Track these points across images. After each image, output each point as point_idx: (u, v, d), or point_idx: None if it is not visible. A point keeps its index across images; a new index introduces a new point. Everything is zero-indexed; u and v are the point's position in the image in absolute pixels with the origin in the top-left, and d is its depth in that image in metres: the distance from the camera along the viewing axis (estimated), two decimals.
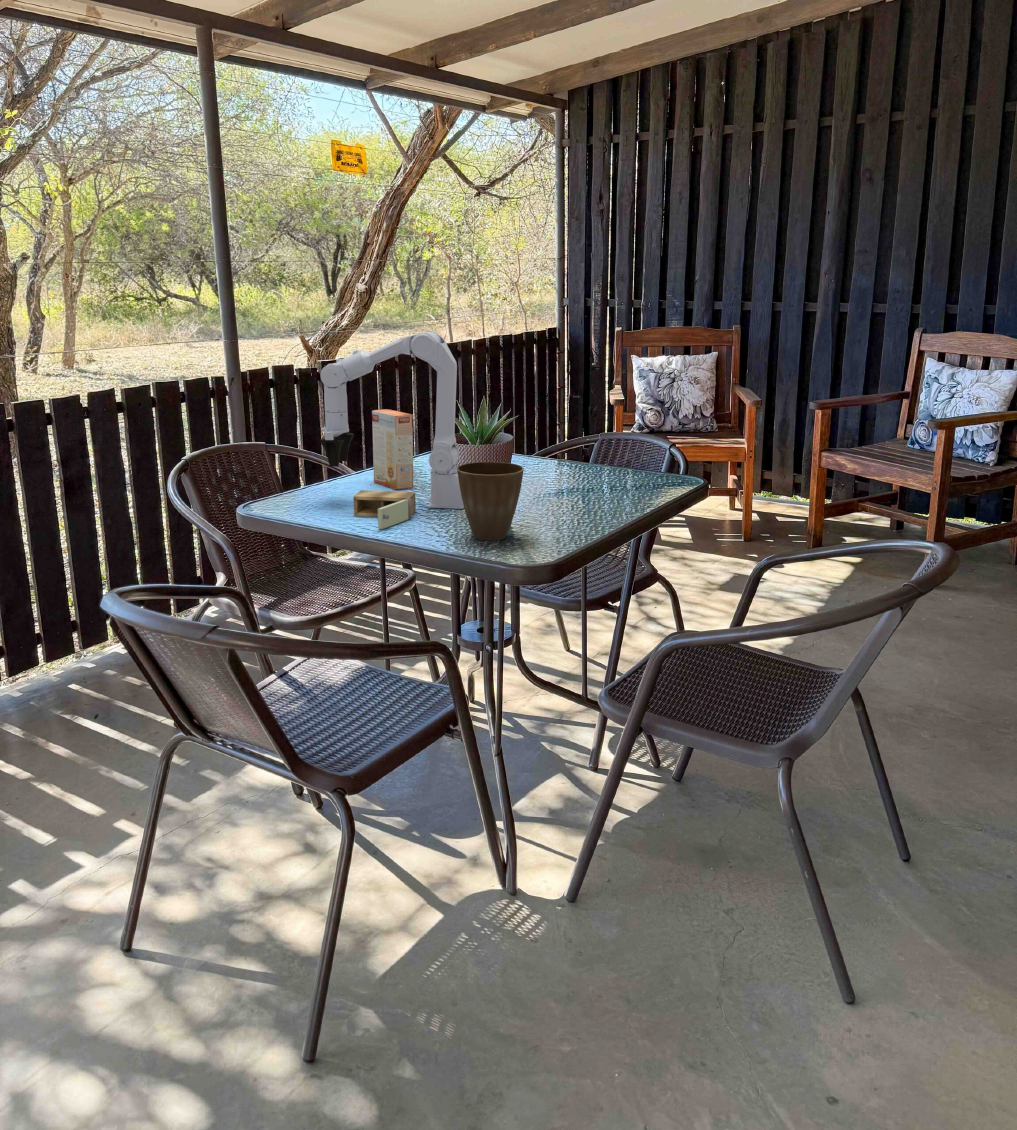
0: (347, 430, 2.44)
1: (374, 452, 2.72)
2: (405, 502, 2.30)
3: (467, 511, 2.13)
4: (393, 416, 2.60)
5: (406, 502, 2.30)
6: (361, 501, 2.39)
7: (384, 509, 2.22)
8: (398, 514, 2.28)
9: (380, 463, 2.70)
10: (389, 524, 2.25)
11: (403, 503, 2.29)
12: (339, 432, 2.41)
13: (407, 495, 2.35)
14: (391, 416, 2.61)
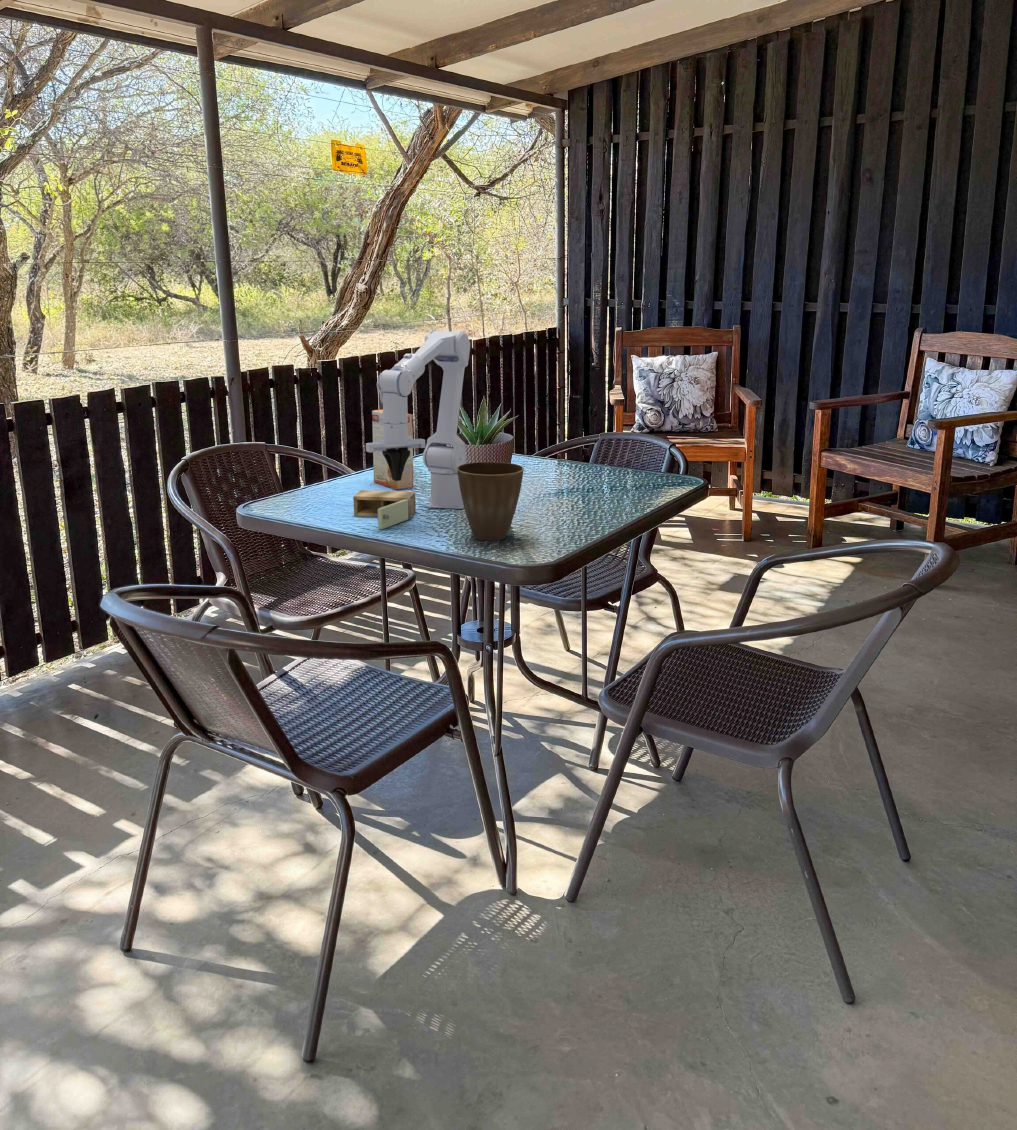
0: (399, 444, 2.21)
1: (374, 452, 2.72)
2: (405, 502, 2.30)
3: (467, 511, 2.13)
4: None
5: (406, 502, 2.30)
6: (361, 501, 2.39)
7: (384, 509, 2.22)
8: (398, 514, 2.28)
9: (380, 463, 2.70)
10: (389, 524, 2.25)
11: (403, 503, 2.29)
12: (384, 445, 2.20)
13: (407, 495, 2.35)
14: None
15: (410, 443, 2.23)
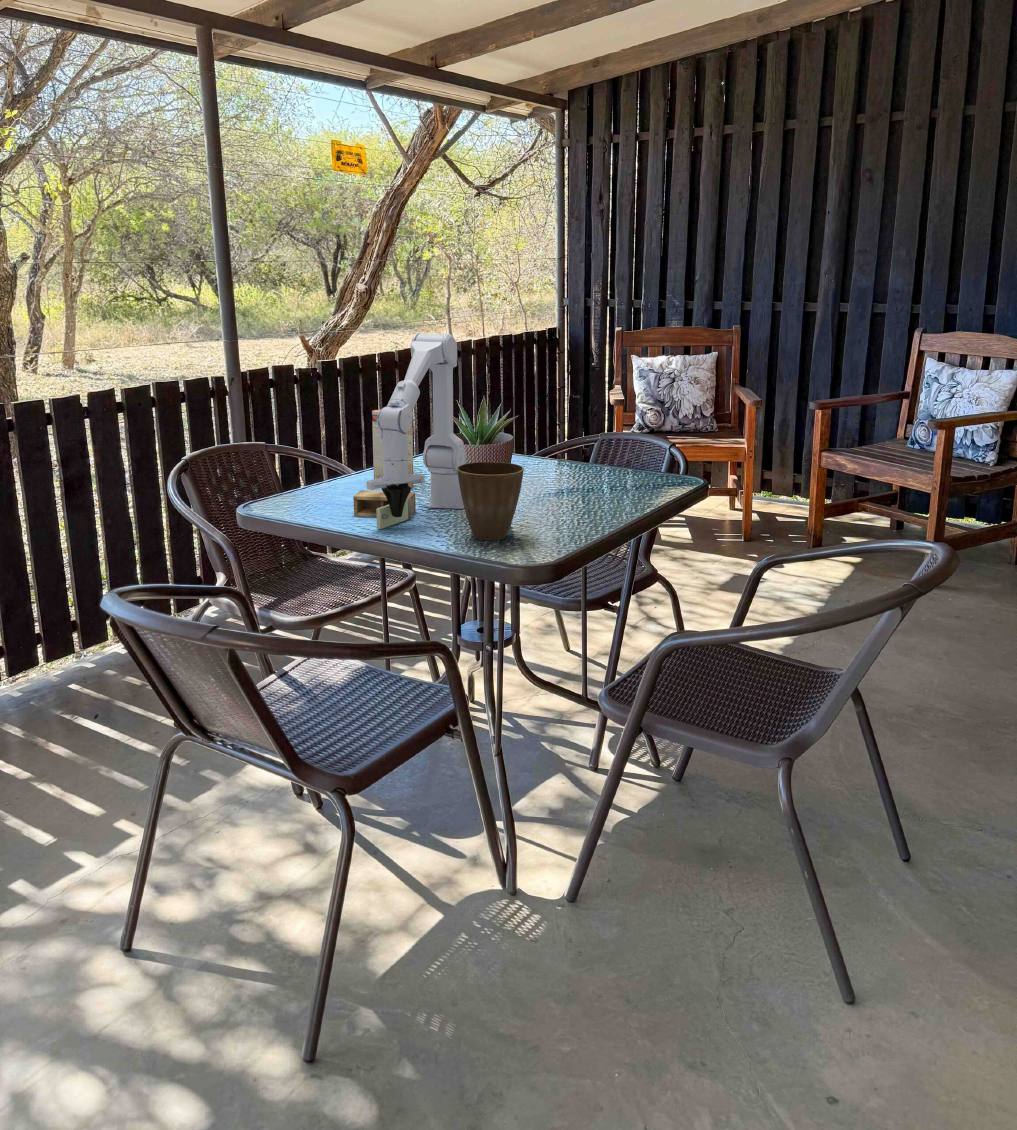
0: (400, 481, 2.19)
1: (374, 452, 2.72)
2: (405, 502, 2.30)
3: (467, 511, 2.13)
4: None
5: (406, 502, 2.30)
6: (361, 501, 2.39)
7: (383, 509, 2.22)
8: None
9: (380, 463, 2.70)
10: (388, 524, 2.25)
11: None
12: (385, 482, 2.18)
13: None
14: None
15: (410, 479, 2.22)
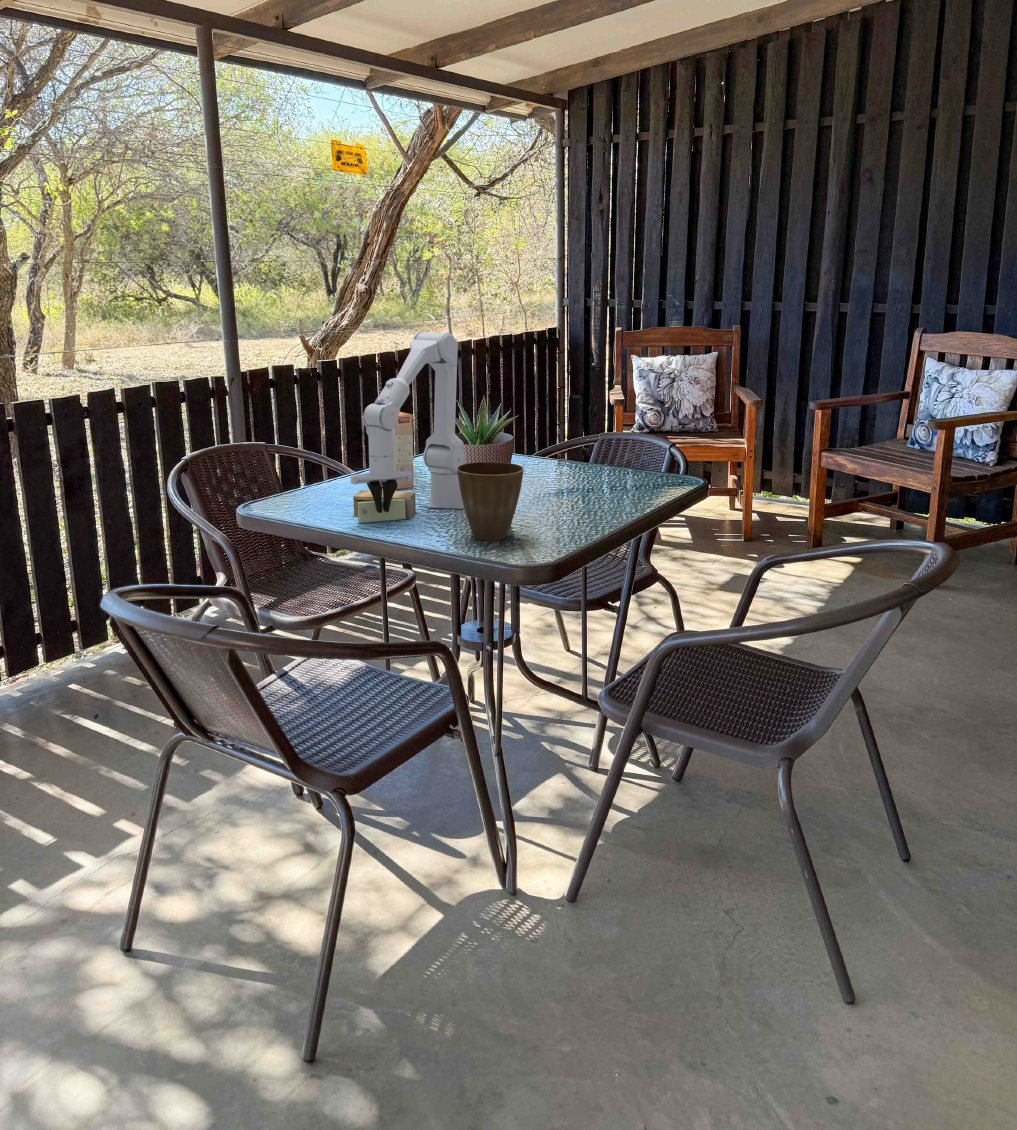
0: (382, 477, 2.23)
1: None
2: (400, 501, 2.31)
3: (467, 511, 2.13)
4: None
5: (401, 502, 2.31)
6: (361, 501, 2.39)
7: (364, 504, 2.27)
8: None
9: None
10: (372, 519, 2.29)
11: (396, 502, 2.30)
12: (367, 478, 2.23)
13: (407, 495, 2.35)
14: None
15: (395, 476, 2.25)
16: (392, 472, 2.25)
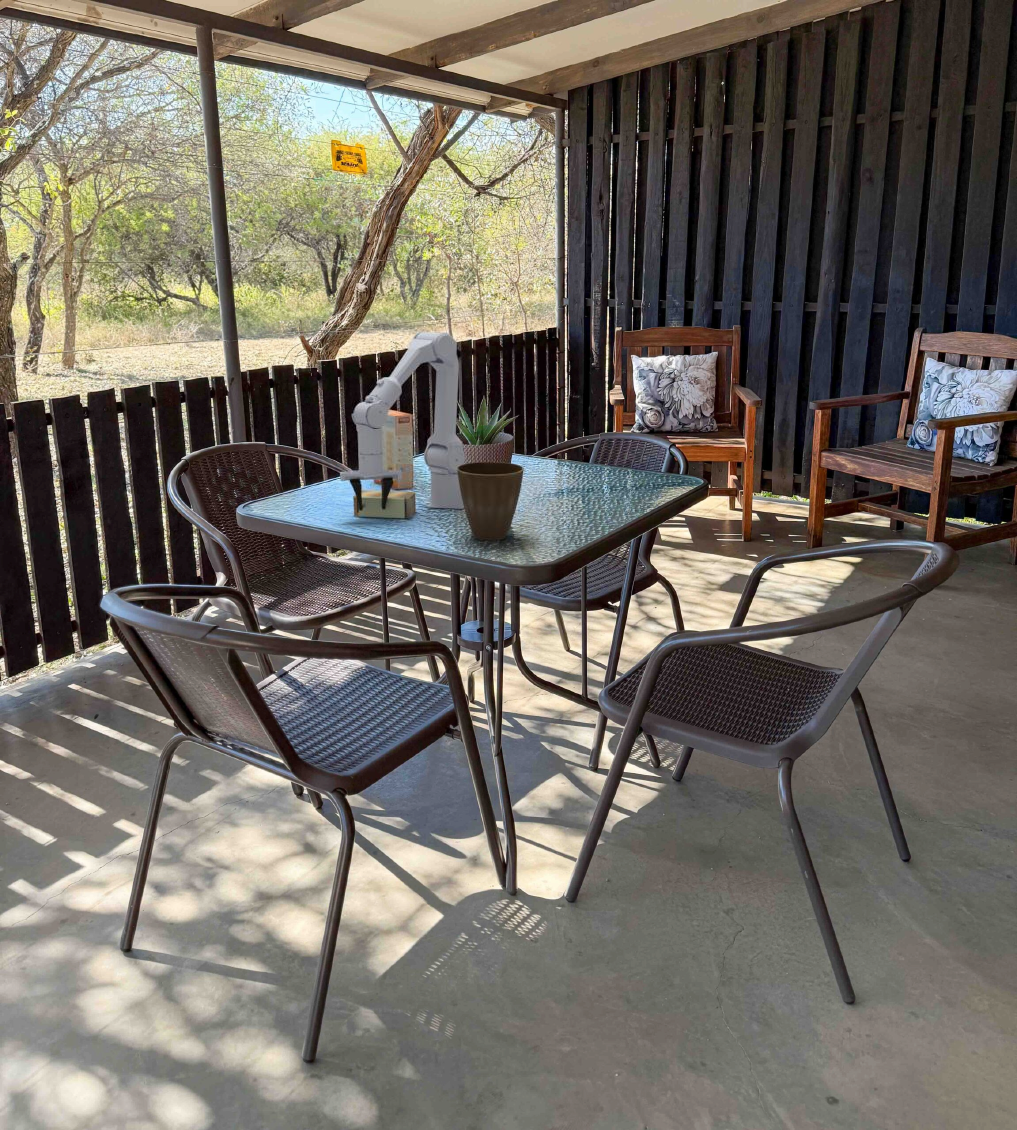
0: (369, 475, 2.26)
1: None
2: (399, 500, 2.32)
3: (467, 511, 2.13)
4: (393, 416, 2.60)
5: (400, 501, 2.32)
6: None
7: (363, 498, 2.33)
8: (386, 509, 2.33)
9: None
10: (371, 515, 2.34)
11: (395, 501, 2.32)
12: (355, 475, 2.26)
13: (407, 495, 2.35)
14: (391, 416, 2.61)
15: (383, 474, 2.27)
16: (380, 470, 2.27)
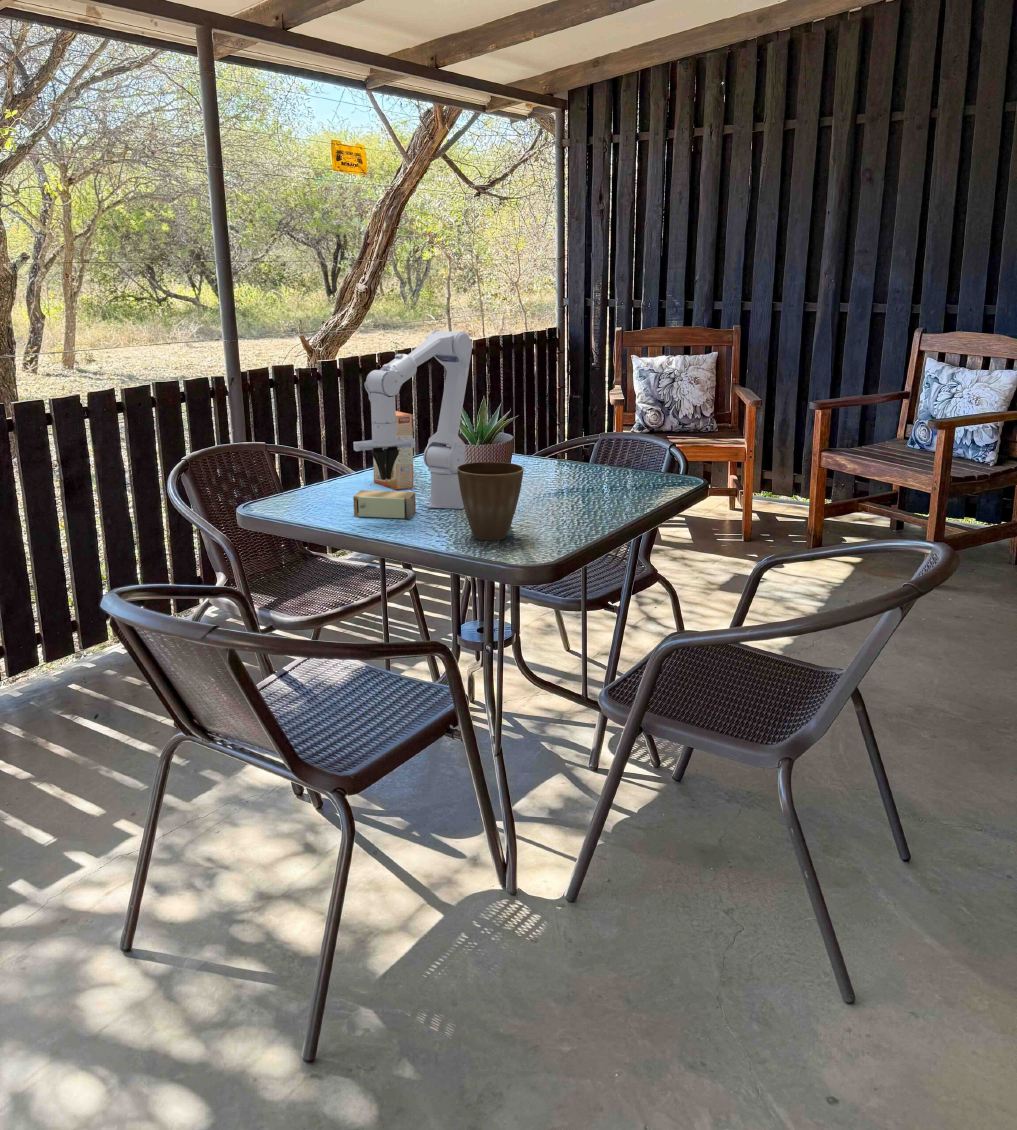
0: (385, 444, 2.23)
1: None
2: (399, 500, 2.32)
3: (467, 511, 2.13)
4: None
5: (400, 501, 2.32)
6: None
7: (363, 498, 2.33)
8: (386, 509, 2.33)
9: None
10: (371, 515, 2.34)
11: (395, 501, 2.32)
12: (370, 444, 2.23)
13: (407, 495, 2.35)
14: None
15: (397, 443, 2.25)
16: (395, 439, 2.25)
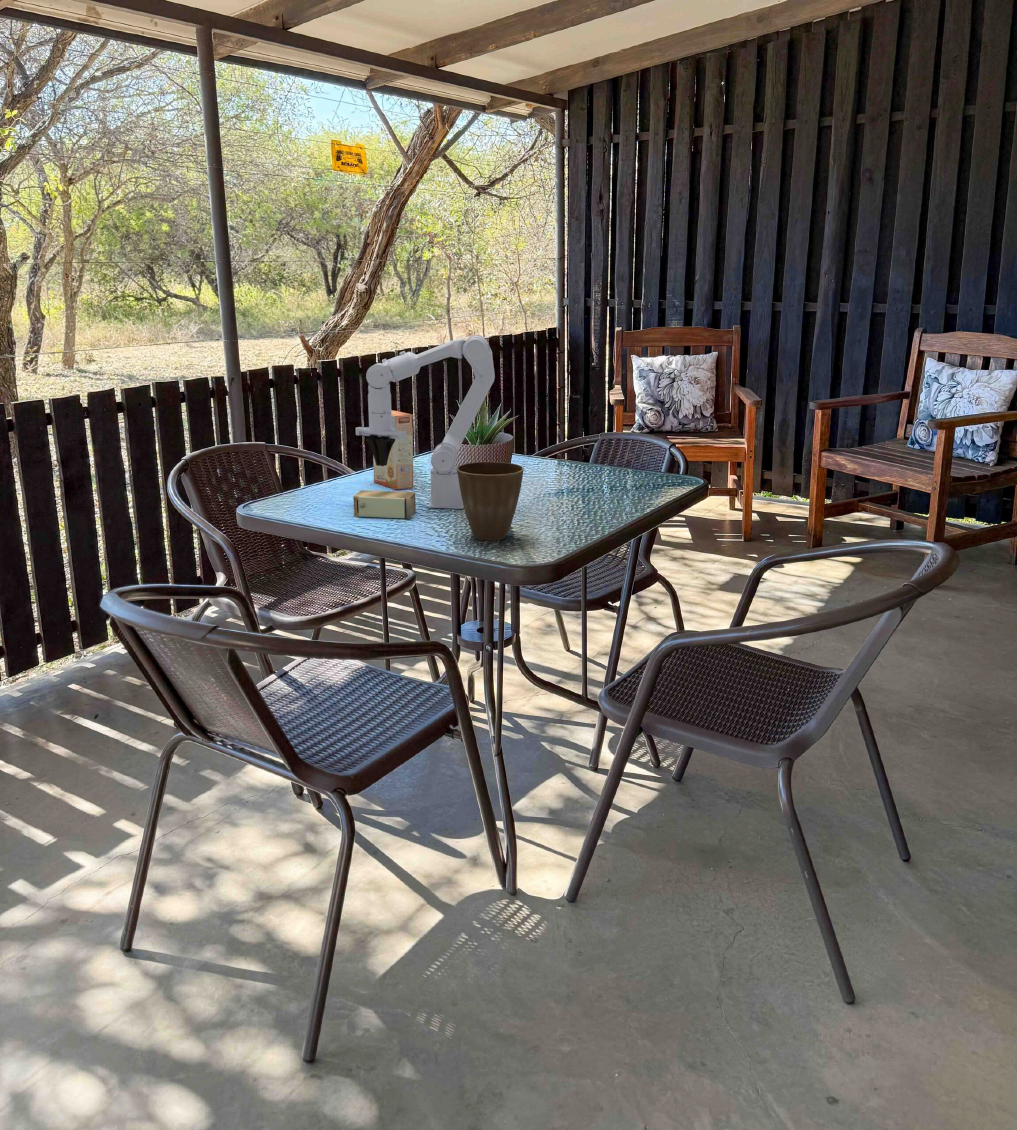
0: (371, 432, 2.40)
1: None
2: (399, 500, 2.32)
3: (467, 511, 2.13)
4: (393, 416, 2.60)
5: (400, 501, 2.32)
6: None
7: (363, 498, 2.33)
8: (386, 509, 2.33)
9: None
10: (371, 515, 2.34)
11: (395, 501, 2.32)
12: (363, 430, 2.42)
13: (407, 495, 2.35)
14: None
15: (383, 433, 2.39)
16: (382, 429, 2.39)
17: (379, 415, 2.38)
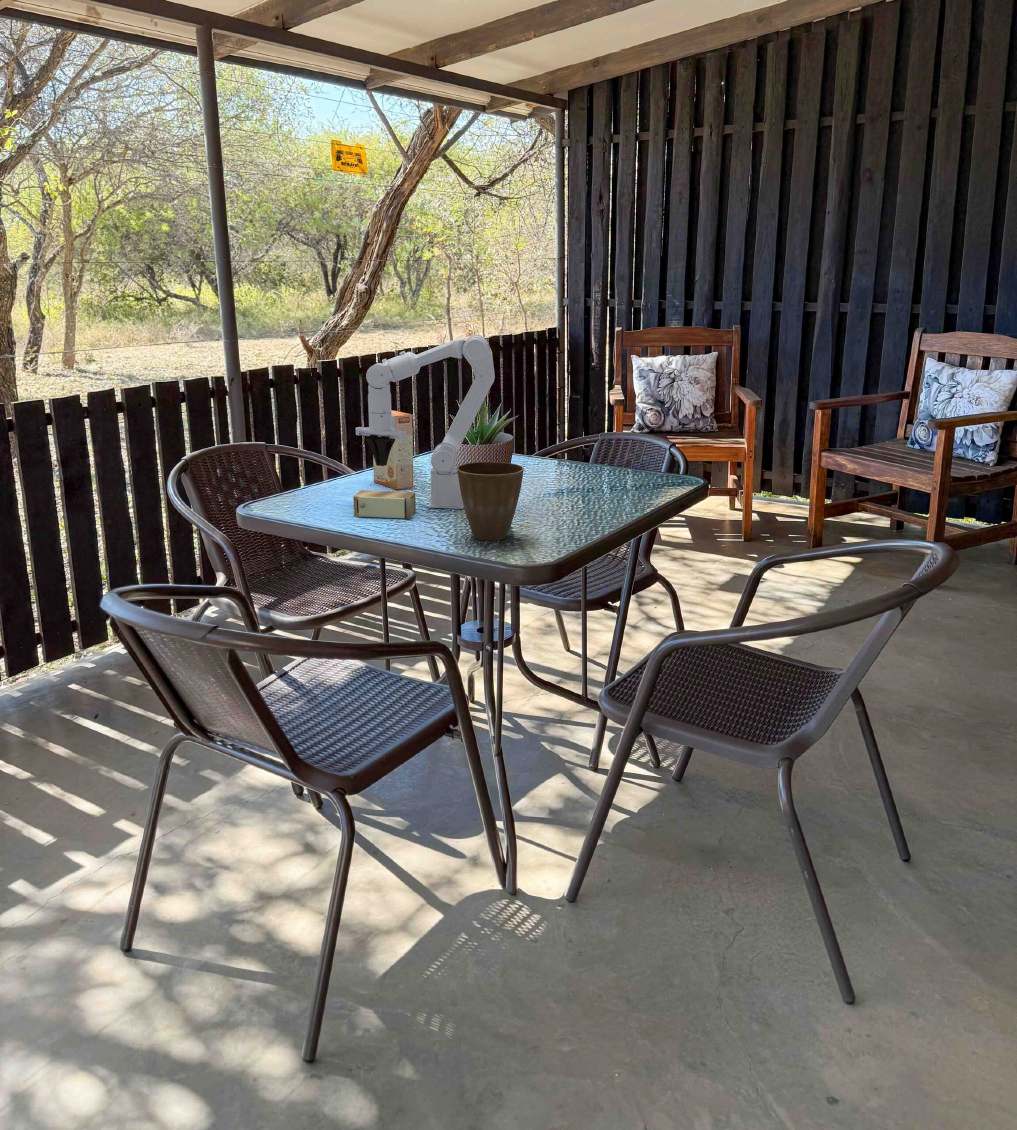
0: (371, 432, 2.40)
1: None
2: (399, 500, 2.32)
3: (467, 511, 2.13)
4: (393, 416, 2.60)
5: (400, 501, 2.32)
6: None
7: (363, 498, 2.33)
8: (386, 509, 2.33)
9: None
10: (371, 515, 2.34)
11: (395, 501, 2.32)
12: (363, 430, 2.42)
13: (407, 495, 2.35)
14: None
15: (383, 433, 2.39)
16: (382, 429, 2.39)
17: (379, 415, 2.38)
